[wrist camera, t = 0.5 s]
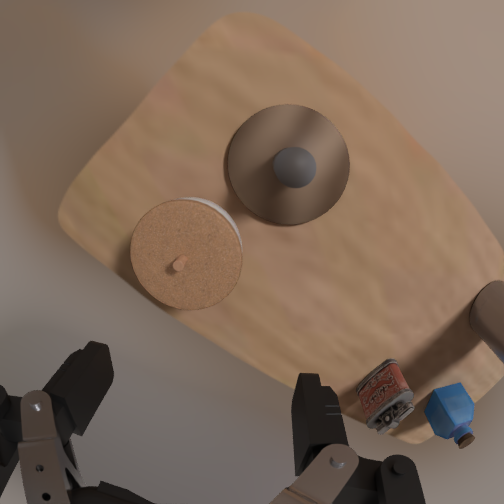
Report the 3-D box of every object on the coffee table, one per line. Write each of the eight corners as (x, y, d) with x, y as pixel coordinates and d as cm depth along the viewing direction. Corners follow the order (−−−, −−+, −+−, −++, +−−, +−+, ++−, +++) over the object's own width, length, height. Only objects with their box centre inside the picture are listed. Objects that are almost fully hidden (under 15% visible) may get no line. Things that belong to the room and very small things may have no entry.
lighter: (365, 396, 42) (380, 443, 33) (351, 390, 42) (365, 438, 32) (401, 363, 40) (424, 408, 30) (388, 355, 39) (411, 401, 30)
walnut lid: (358, 124, 30) (381, 118, 23) (330, 233, 34) (345, 254, 27) (242, 94, 29) (237, 80, 23) (218, 208, 34) (207, 223, 27)
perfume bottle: (434, 389, 42) (460, 436, 31) (460, 382, 42) (487, 426, 30) (424, 411, 44) (445, 458, 33) (449, 404, 44) (472, 447, 32)
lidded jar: (252, 195, 33) (248, 212, 24) (240, 284, 36) (233, 327, 27) (158, 184, 33) (122, 198, 24) (154, 271, 36) (124, 308, 27)
